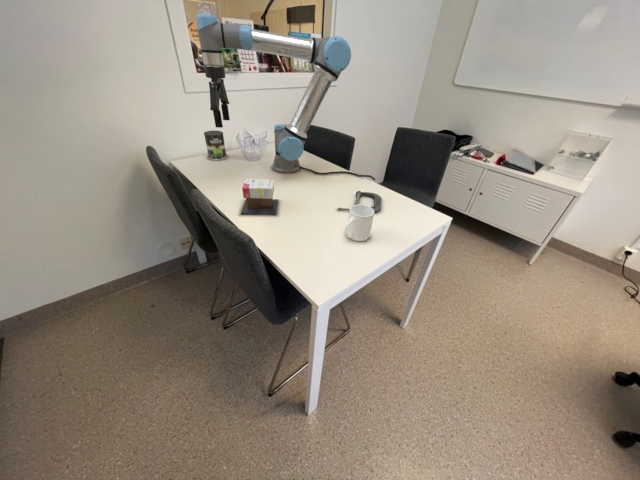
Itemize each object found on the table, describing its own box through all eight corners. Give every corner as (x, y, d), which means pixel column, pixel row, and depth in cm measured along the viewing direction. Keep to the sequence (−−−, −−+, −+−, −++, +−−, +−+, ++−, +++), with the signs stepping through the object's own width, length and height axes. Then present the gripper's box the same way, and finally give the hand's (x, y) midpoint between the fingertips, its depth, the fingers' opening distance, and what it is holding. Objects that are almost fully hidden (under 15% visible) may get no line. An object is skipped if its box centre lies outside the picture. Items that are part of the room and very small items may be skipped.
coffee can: (228, 159, 155) (224, 134, 147) (210, 161, 151) (205, 135, 143) (225, 153, 162) (221, 129, 154) (207, 155, 158) (202, 131, 150)
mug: (335, 237, 96) (338, 212, 90) (356, 226, 103) (360, 202, 97) (353, 248, 91) (357, 222, 85) (374, 236, 98) (379, 211, 92)
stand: (278, 201, 116) (277, 189, 113) (276, 215, 107) (275, 203, 103) (246, 200, 115) (244, 189, 112) (241, 214, 105) (239, 202, 102)
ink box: (243, 198, 105) (273, 199, 106) (241, 187, 102) (272, 188, 103) (246, 189, 112) (274, 189, 113) (245, 178, 109) (274, 179, 110)
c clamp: (378, 218, 109) (379, 212, 107) (337, 210, 113) (338, 204, 111) (384, 198, 124) (385, 192, 123) (348, 191, 128) (349, 186, 127)
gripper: (212, 63, 113) (221, 117, 126) (194, 67, 93) (206, 130, 106) (230, 64, 114) (237, 117, 126) (215, 68, 94) (225, 131, 106)
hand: (223, 123), depth 116 cm, fingers open, 13 cm apart
